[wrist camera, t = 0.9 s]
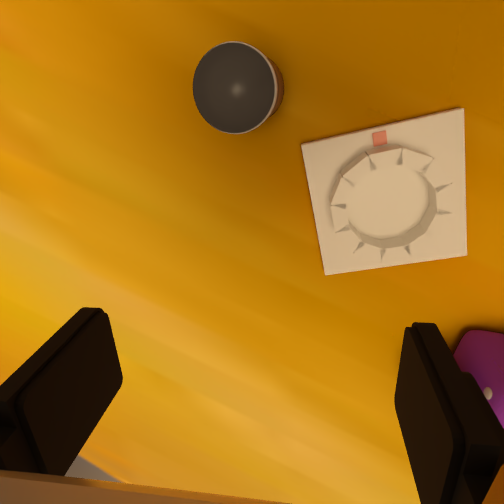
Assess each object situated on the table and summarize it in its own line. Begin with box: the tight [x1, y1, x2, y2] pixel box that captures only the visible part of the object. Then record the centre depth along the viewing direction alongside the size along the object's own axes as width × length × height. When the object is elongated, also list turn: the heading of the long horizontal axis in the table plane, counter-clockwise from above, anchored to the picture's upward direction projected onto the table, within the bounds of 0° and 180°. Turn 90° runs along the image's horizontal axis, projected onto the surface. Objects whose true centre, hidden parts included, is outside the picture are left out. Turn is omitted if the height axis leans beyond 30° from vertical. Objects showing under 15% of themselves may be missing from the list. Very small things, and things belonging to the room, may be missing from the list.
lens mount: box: [301, 108, 467, 275], centre depth 30 cm, size 12×12×3 cm
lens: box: [193, 41, 284, 134], centre depth 26 cm, size 5×5×8 cm
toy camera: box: [453, 330, 504, 428], centre depth 32 cm, size 11×14×10 cm
